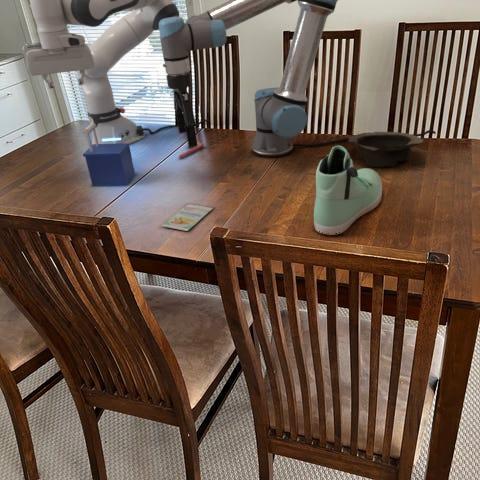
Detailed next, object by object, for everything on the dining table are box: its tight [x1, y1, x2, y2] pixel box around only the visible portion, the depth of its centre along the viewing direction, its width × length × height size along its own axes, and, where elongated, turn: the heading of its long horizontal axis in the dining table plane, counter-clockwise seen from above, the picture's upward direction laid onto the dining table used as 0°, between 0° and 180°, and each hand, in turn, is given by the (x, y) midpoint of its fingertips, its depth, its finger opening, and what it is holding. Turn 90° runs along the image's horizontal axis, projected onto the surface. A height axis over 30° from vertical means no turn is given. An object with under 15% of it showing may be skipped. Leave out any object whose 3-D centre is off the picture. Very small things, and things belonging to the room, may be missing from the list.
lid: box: [82, 123, 130, 158], centre depth 161 cm, size 13×10×9 cm
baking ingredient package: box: [160, 203, 214, 232], centre depth 141 cm, size 9×1×15 cm
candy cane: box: [177, 141, 203, 159], centre depth 187 cm, size 6×15×2 cm, turn 145°
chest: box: [84, 146, 136, 187], centre depth 166 cm, size 12×10×11 cm
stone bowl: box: [347, 131, 425, 168], centre depth 166 cm, size 25×25×9 cm
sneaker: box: [313, 145, 383, 236], centre depth 133 cm, size 14×35×20 cm, turn 152°
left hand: (67, 86), depth 155 cm, fingers open, 8 cm apart
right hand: (187, 139), depth 158 cm, fingers open, 13 cm apart
